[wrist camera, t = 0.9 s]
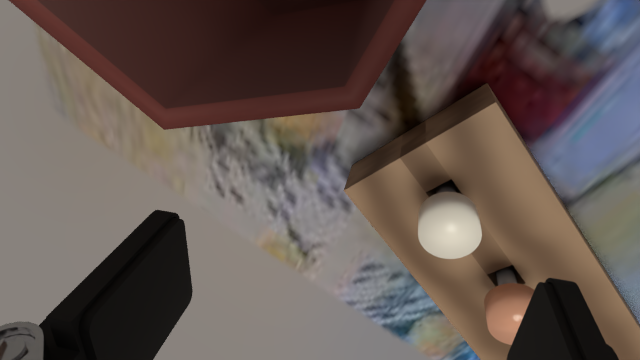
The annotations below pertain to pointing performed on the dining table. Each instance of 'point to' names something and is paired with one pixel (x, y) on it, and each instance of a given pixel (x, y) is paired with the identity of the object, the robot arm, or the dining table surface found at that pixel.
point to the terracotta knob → (506, 305)
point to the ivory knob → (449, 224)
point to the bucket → (230, 52)
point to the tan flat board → (484, 220)
